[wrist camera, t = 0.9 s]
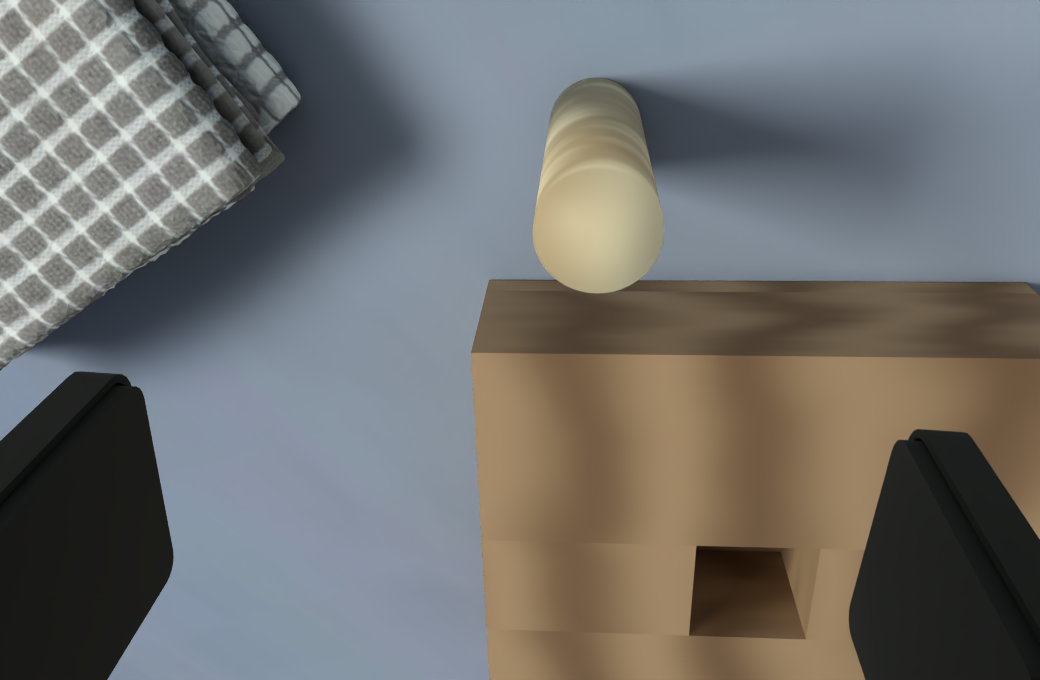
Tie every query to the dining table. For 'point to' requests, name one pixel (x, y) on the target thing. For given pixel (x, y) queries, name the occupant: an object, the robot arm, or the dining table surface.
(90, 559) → the robot arm
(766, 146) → the dining table surface
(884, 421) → the bore block
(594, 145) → the peg
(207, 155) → the towel
